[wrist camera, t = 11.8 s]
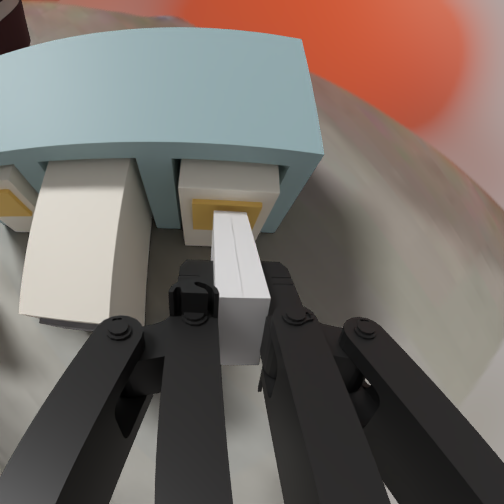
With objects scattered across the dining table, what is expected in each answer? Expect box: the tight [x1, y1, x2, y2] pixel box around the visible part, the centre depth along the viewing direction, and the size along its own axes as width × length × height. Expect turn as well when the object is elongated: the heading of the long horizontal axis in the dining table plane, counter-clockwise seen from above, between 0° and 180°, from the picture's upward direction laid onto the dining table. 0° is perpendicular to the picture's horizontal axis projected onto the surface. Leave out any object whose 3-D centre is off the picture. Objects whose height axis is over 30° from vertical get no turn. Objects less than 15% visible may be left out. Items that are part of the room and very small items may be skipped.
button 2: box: [178, 159, 280, 246], centre depth 18 cm, size 4×10×8 cm, turn 1°
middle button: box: [19, 158, 153, 331], centre depth 15 cm, size 4×10×8 cm, turn 1°
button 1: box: [0, 164, 39, 232], centre depth 16 cm, size 4×10×8 cm, turn 1°
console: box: [0, 27, 324, 233], centre depth 17 cm, size 21×9×10 cm, turn 91°
